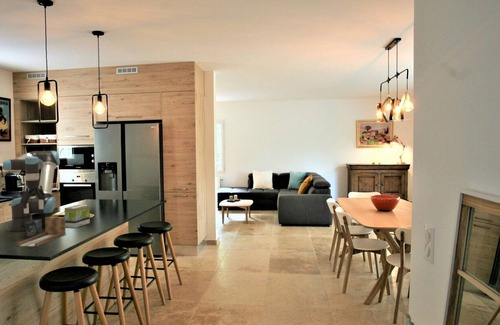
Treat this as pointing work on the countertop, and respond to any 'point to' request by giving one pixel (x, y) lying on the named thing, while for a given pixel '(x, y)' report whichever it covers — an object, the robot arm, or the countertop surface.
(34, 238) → the track
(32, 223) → the box
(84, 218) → the tea box
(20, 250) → the countertop surface
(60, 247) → the countertop surface
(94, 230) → the countertop surface
